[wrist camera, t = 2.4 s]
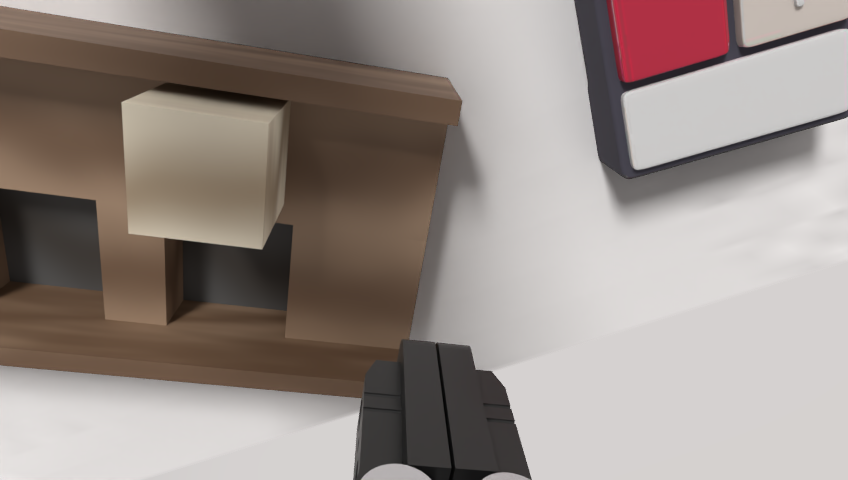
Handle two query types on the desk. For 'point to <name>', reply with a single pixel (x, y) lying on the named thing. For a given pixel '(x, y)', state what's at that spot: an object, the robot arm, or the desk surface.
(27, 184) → the trap track
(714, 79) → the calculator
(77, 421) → the desk surface
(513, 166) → the desk surface
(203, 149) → the birch block
